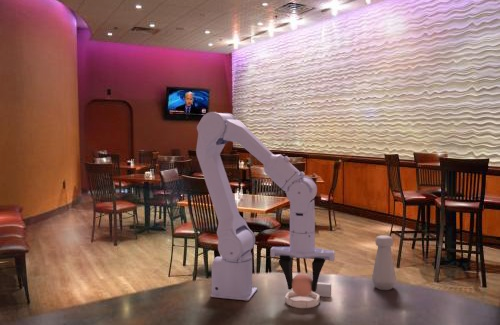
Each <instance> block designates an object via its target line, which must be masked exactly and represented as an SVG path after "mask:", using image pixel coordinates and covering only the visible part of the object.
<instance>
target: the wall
mask: <svg viewBox="0 0 500 325" xmlns="http://www.w3.org/2000/svg"><path fill="white" fill-rule="evenodd" d="M314 293H316V294H318V295H320V297H325V298H331V297H332V283H331V282H330V283H329V282H320V281H318V282H317V289H316V292H314Z"/></svg>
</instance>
